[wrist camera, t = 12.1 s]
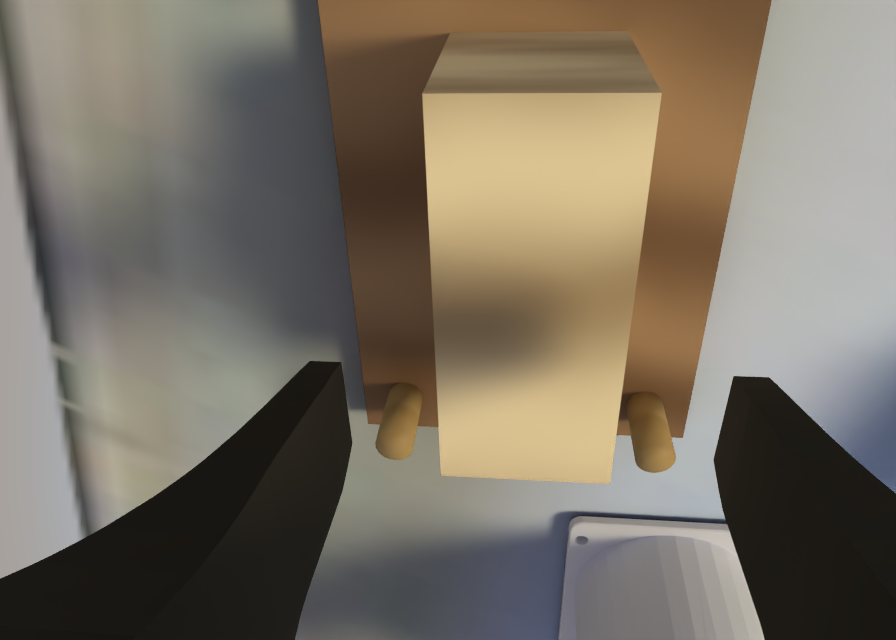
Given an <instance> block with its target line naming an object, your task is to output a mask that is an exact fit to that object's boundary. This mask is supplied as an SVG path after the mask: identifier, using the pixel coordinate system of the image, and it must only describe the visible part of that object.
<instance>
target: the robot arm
mask: <svg viewBox="0 0 896 640" xmlns="http://www.w3.org/2000/svg"><path fill="white" fill-rule="evenodd" d="M351 447H352V437H351V430H350V423H349V415H348V408H347V401H346V394H345V386H344V379H343V372H342V365H341V362H321V361H310V362H309V363H307V364H306V365H305V366H304V367H303V368H302V369H301V370H300V371H299V372H298V373H297V374H296V375H295V376H294V377H293V378H292V379H291V380H290V381H289V382H288V383H287V384H286V385H285V386H284V387H283V388H282V389H281V390H280V391H279V392H278V393H277V394H276V395H275V396H274V397H273V398H272V399H271V400H270V401H269V402H268V403H267V404H266V405H265V406H264V407H263V408H262V409H261V410H260V411H258V412H257V413H256V414H255V415H254V416H253V417H252V418H251V419H250V420H249V421H248V422H247V423H246V424H245V425H244V426H243V427H242V428H241V429H239V430H238V431H237V432H236V433H235V434H234V435H233V436H232V437H230V438H229V439H228V440H227V441H226V442H225V443H223V444H222V445H221V446H220V447H219V448H218V449H216V450H215V451H214V452H213V453H212V454H211V455H209V456H208V457H207V458H206V459H205V460H203V461H202V462H201V463H200V464H198V465H197V466H196V467H194V468H193V469H192V470H191V471H189V472H188V473H187V474H185V475H184V476H182V477H181V478H180V479H178V480H177V481H175V482H174V483H173V484H171V485H170V486H168V487H167V488H166V489H164V490H163V491H161V492H160V493H158V494H157V495H155V496H154V497H153V498H151V499H149V500H148V501H146V502H144V503H143V504H141V505H140V506H138V507H136V508H135V509H133V510H132V511H130V512H128V513H127V514H125V515H124V516H122V517H120V518H119V519H117V520H115V521H114V522H112V523H111V524H109V525H107V526H106V527H104V528H102V529H100V530H98V531H97V532H95V533H93V534H91V535H89V536H88V537H86V538H84V539H82V540H80V541H78V542H77V543H75V544H73V545H71V546H69V547H67V548H65V549H63V550H61V551H59V552H57V553H55V554H53V555H51V556H49V557H47V558H45V559H43V560H41V561H39V562H37V563H35V564H32V565H30V566H28V567H26V568H24V569H21V570H19V571H17V572H15V573H12V574H10V575H8V576H5V577H3V578H1V579H0V640H295V636H296V632H297V628H298V623H299V619H300V615H301V612H302V608H303V605H304V602H305V598H306V595H307V592H308V589H309V586H310V583H311V580H312V577H313V574H314V572H315V569H316V566H317V563H318V560H319V557H320V554H321V552H322V549H323V546H324V543H325V540H326V537H327V534H328V531H329V529H330V526H331V523H332V520H333V517H334V514H335V511H336V508H337V505H338V502H339V499H340V496H341V493H342V490H343V486H344V481H345V477H346V472H347V467H348V462H349V457H350V452H351ZM714 465H715V471H716V477H717V482H718V488H719V493H720V498H721V503H722V508H723V512H724V515H725V519H726V522H727V524H714V523H696V522H678V521H660V520H642V519H624V518H606V517H588V516H579V517H576V518H573V519H572V520H571V521H570V524H569V532H568V543H567V553H566V564H565V574H564V585H563V595H562V606H561V617H560V627H559V638H558V640H896V494H895V493H894V492H893V491H892V490H891V489H889V488H888V487H887V486H886V485H885V484H883V483H882V482H881V481H880V480H879V479H877V478H876V477H875V476H874V475H873V474H871V473H870V472H869V471H868V470H867V469H866V468H864V467H863V466H862V465H861V464H860V463H859V462H858V461H856V460H855V459H854V458H853V457H852V456H851V455H850V454H849V453H848V452H846V451H845V450H844V449H843V448H842V447H841V446H840V445H839V444H838V443H837V442H836V441H835V440H833V439H832V438H831V437H830V436H829V435H828V434H827V433H826V432H825V431H824V430H823V429H822V428H821V427H820V426H819V425H818V424H817V423H816V422H815V421H814V420H813V419H811V418H810V417H809V416H808V415H807V414H806V413H805V412H804V411H803V410H802V409H801V408H800V407H799V406H798V405H797V404H796V403H795V402H794V401H793V400H792V399H791V398H790V397H789V396H788V395H787V394H786V393H785V392H784V391H783V390H782V389H781V388H780V387H779V386H778V385H777V384H776V383H774V382H773V381H772V380H771V379H770V378H769V377H741V376H734V377H733V381H732V385H731V389H730V394H729V398H728V402H727V406H726V410H725V414H724V419H723V423H722V427H721V431H720V435H719V440H718V444H717V448H716V452H715V456H714ZM578 536H584V537H578Z"/></svg>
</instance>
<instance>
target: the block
mask: <svg viewBox="0 0 896 640" xmlns="http://www.w3.org/2000/svg"><path fill="white" fill-rule="evenodd" d="M661 95H662V92H661V90H660V89H659V87H658V85H657V83H656V81H655V80H654V78H653V76H652V74H651V72H650V71H649V69H648V67H647V65H646V63H645V62H644V60H643V58H642V56H641V54H640V53H639V51H638V49H637V47H636V45H635V44H634V42H633V40H632V38H631V36H630V35H629V33H628V31H590V32H502V33H450V35H449V37H448V39H447V41H446V43H445V45H444V48H443V50H442V52H441V54H440V56H439V58H438V61H437V63H436V65H435V67H434V69H433V71H432V74H431V76H430V78H429V80H428V82H427V84H426V87H425V89H424V91H423V93H422V98H423V119H424V139H425V159H426V180H427V200H428V221H429V241H430V261H431V282H432V302H433V322H434V343H435V363H436V384H437V404H438V424H439V445H440V465H441V475H442V476H462V477H482V478H501V479H521V480H541V481H561V482H581V483H601V484H610V479H611V471H612V464H613V456H614V449H615V441H616V434H617V426H618V419H619V411H620V404H621V396H622V389H623V381H624V374H625V366H626V359H627V351H628V344H629V336H630V328H631V321H632V313H633V306H634V298H635V291H636V283H637V276H638V268H639V261H640V253H641V246H642V238H643V231H644V223H645V216H646V208H647V201H648V193H649V185H650V178H651V170H652V163H653V155H654V148H655V140H656V133H657V125H658V118H659V110H660V103H661Z"/></svg>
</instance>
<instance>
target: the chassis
mask: <svg viewBox="0 0 896 640" xmlns="http://www.w3.org/2000/svg"><path fill="white" fill-rule="evenodd" d="M770 5H771V0H318V6H319V15H320V23H321V32H322V40H323V48H324V57H325V65H326V74H327V82H328V90H329V99H330V107H331V116H332V124H333V132H334V141H335V149H336V158H337V166H338V174H339V183H340V191H341V200H342V208H343V216H344V225H345V233H346V242H347V250H348V258H349V267H350V275H351V283H352V292H353V300H354V309H355V317H356V325H357V334H358V342H359V351H360V359H361V367H362V376H363V384H364V393H365V401H366V409H367V418H368V424H380V428H379V431H378V435H377V439H376V448H377V450H378V452H379V453H380V454H381V455H383V456H384V457H386V458H388V459H392V460H401V459H405V458H407V457H408V456H409V455H410V454H411V453H412V451H413V446H414V441H415V436H416V431H417V426H429V427H439V424H438V404H437V384H436V363H435V343H434V322H433V302H432V282H431V261H430V241H429V221H428V200H427V180H426V159H425V139H424V119H423V98H422V93H423V91H424V89H425V87H426V84H427V82H428V80H429V78H430V76H431V74H432V71H433V69H434V67H435V65H436V63H437V61H438V58H439V56H440V54H441V52H442V50H443V48H444V45H445V43H446V41H447V39H448V37H449V35H450V33H502V32H590V31H628V33H629V35H630V36H631V38H632V40H633V42H634V44H635V45H636V47H637V49H638V51H639V53H640V54H641V56H642V58H643V60H644V62H645V63H646V65H647V67H648V69H649V71H650V72H651V74H652V76H653V78H654V80H655V81H656V83H657V85H658V87H659V89H660V90H661V92H662V95H661V103H660V110H659V118H658V125H657V133H656V140H655V148H654V155H653V163H652V170H651V178H650V185H649V193H648V201H647V208H646V216H645V223H644V231H643V238H642V246H641V253H640V261H639V268H638V276H637V283H636V291H635V298H634V306H633V313H632V321H631V328H630V336H629V344H628V351H627V359H626V366H625V374H624V381H623V389H622V396H621V404H620V411H619V419H618V426H617V434H616V435H631V438H632V444H633V450H634V456H635V461H636V464H637V466H638V467H639V468H641V469H642V470H644V471H647V472H652V473H656V472H662V471H665V470H667V469H669V468H670V467H671V466H672V465H673V464H674V462H675V459H676V456H675V451H674V447H673V443H672V439H671V437H677V438H683V434H684V429H685V424H686V419H687V414H688V409H689V405H690V400H691V395H692V390H693V385H694V380H695V375H696V370H697V365H698V360H699V355H700V350H701V345H702V340H703V336H704V331H705V326H706V321H707V316H708V311H709V306H710V301H711V296H712V291H713V286H714V281H715V276H716V271H717V267H718V262H719V257H720V252H721V247H722V242H723V237H724V232H725V227H726V222H727V217H728V212H729V207H730V202H731V198H732V193H733V188H734V183H735V178H736V173H737V168H738V163H739V158H740V153H741V148H742V143H743V138H744V133H745V129H746V124H747V119H748V114H749V109H750V104H751V99H752V94H753V89H754V84H755V79H756V74H757V69H758V64H759V60H760V55H761V50H762V45H763V40H764V35H765V30H766V25H767V20H768V15H769V10H770Z"/></svg>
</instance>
